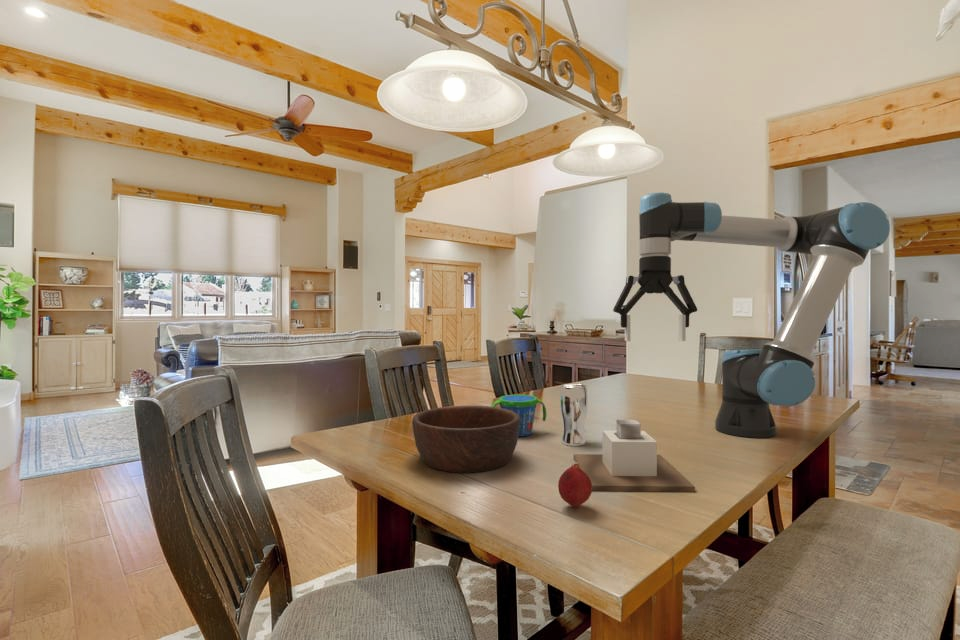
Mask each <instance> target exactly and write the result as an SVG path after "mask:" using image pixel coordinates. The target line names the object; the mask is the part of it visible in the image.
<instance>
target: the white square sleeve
mask: <svg viewBox="0 0 960 640" xmlns="http://www.w3.org/2000/svg"><path fill="white" fill-rule="evenodd" d="M616 432H617V430H602V454H603V463H604V465H605V466H606V468H607V469H608V471H609V472H610V474H611V475H612V476H657V455H658V441H656V440H655V439H654V438H653V437H652V436H650V435H649V433H647V432H646V431H645V430H641V439H619V438H618V437H617V436H616Z"/></svg>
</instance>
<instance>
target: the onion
mask: <svg viewBox="0 0 960 640" xmlns="http://www.w3.org/2000/svg"><path fill="white" fill-rule="evenodd" d="M579 466H580V464H579V463H578V462H577V463H576V462H575V461H574V462H573V463H572V465H571V466H570V467H568V468H567V469H566V470H565V471H563V473H562V474H561V475H560V477H559V479H558V482H557V486H558V493H559V495H560V498H561V499H562V500H563V501H564V502H565V503H567V504H568V505H569V506H571V507H572V508H575V509H577V508H579V507H580V506H581V505H582V504H584V503H585V502H587V501H588V500H589V499H590V497H591V495H592V493H593V491H592V483H591V481H590V478H589V477H588V475H587V474H586V473H585V472H584V471H583V470H581V469H580V468H579Z"/></svg>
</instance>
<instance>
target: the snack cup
mask: <svg viewBox="0 0 960 640" xmlns="http://www.w3.org/2000/svg"><path fill="white" fill-rule="evenodd" d="M538 403H540V404H541V405H542V422H545V421H546V419H547V407H546V405H545V404H544V402H543V401H542V400H541V399H539V398H538V397H537V396H536V395H531V394H507V395H506V394H505V395H502V396H500V397H499V399H497V400H495V401H494V402H493V404H492V406H491V407H496V406H497V405H498V404H499V406H500V407H499V408H503V409H507V410H510V411H513V412H515V413H516V414H518V415H519V417H520V427H519V434H518V437H525V436H527V437H528V436H530V435H531V434H532V433H533V429H534V422H535V412H536V408H537V404H538Z"/></svg>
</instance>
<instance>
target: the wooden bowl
mask: <svg viewBox="0 0 960 640" xmlns="http://www.w3.org/2000/svg"><path fill="white" fill-rule="evenodd" d="M411 420H412V421H411V422H412V423H411V424H412V430H413V436H414V442H415V446H416V448H417V452H418V453H419V455H420V458H421V459H422V461H423V462H424V463H425V465H428V466H429V467H431V468H433V469H436V470H439V471H443V472H449V473H450V472H451V473H465V474H466V473H479V472H486V471H490V470H495V469H498V468H500V467H503V466H504V465H506V464H507V463H508V462H509V461H510V459H511V458H512V456H513V454H514V452H515V449H516V447H517V443H518V439H519V436H518V434H519V427H520V417H519V415H518V414H516V413H515V412H513V411H510V410H507V409H503V408H501V407H496V406H495V407H492V406H486V405H451V406H450V405H449V406H448V405H447V406H440V407H435V408H429V409H426V410H422V411H420V412H418V413H417V414H415V415H414V416H413V417H412V419H411Z"/></svg>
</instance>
